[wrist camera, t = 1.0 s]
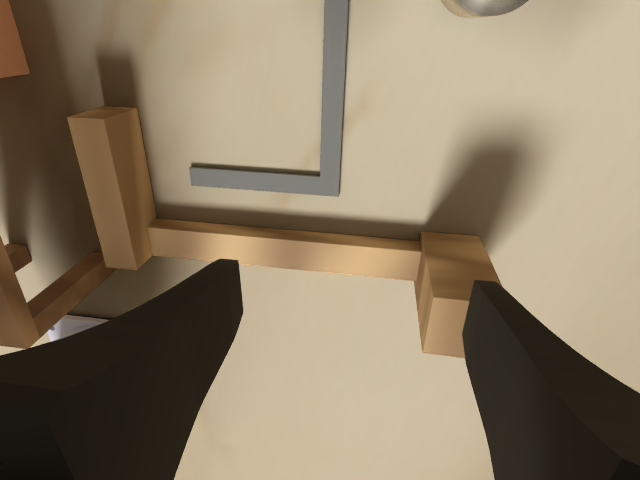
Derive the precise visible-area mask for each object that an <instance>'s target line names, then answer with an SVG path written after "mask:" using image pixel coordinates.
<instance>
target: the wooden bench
mask: <svg viewBox="0 0 640 480" xmlns="http://www.w3.org/2000/svg"><path fill="white" fill-rule="evenodd" d="M30 262H31V258H30V255H29V253H28V250H27V247H26V245H20V244H7V245H5V246H4V244H3V242H2V239H1V237H0V346H8V347H15V348H23V349H28V348H30V347H31V346H32V345H33V344H34V343H35V342H36V341H37V340H38V339H40V338H41V337H42V336H43V335H44V334H45V333H46V332H47V331H48V330H49V329H50V328H52V327H53V326H54V325H55V324H56V323H57V322H58V321H59V320H60V319H61V318H63V317H64V316H65V315H66V314H67V313H68V312H69V311H70V310H71V309H72V308H73V307H75V306H76V305H77V304H78V303H79V302H80V301H81V300H82V299H83V298H84V297H86V296H87V295H88V294H89V293H90V292H91V291H92V290H93V289H94V288H95V287H97V286H98V285H99V284H100V283H101V282H102V281H103V280H104V279H105V278H106V277H107V276H109V275H110V274H111V273H112V272H113V271H114V270H115V268H110V267H106V264H105V261H104V257H103V253H102V252H92V253H90V254H89V255H88V256H87V257H85V258H84V259H83V260H81V261H80V262H79V263H78V264H76V265H75V266H74V267H73V268H71V269H70V270H69V271H67V272H66V273H65V274H64V275H62V276H61V277H60V278H58V279H57V280H56V281H55V282H53V283H52V284H51V285H49V286H48V287H47V288H46V289H44V290H43V291H42V292H41V293H39V294H38V295H37V296H35V297H34V298H33V299H32V300H30V301H29V302H28V303H26V300H25V298H24V295H23V293H22V290H21V287H20V285H19V282H18V280H17V277H16V275H15V272H16V271H18V270H19V269H21V268H22V267H24V266H25V265H27V264H28V263H30Z"/></svg>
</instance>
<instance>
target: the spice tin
mask: <svg viewBox="0 0 640 480" xmlns="http://www.w3.org/2000/svg"><path fill="white" fill-rule="evenodd" d="M441 1H442V3H443V5H444V6H445V7H446V8H447V9H448V10H449V11H450V12H451V13H453V14H455V15H457V16H460V17H465V18H473V17H485V16H497V15H502V14H506V13H509V12H511V11H513V10H515V9H517V8H519V7H520V6H522V5H523V4H524V3H526V2H527V1H528V0H441Z"/></svg>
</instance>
